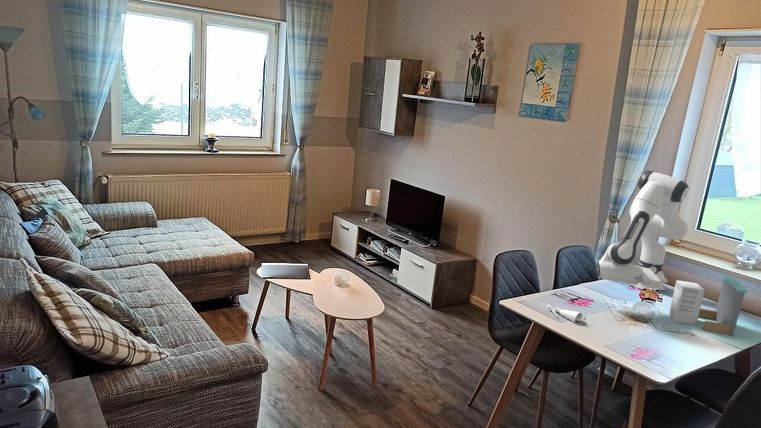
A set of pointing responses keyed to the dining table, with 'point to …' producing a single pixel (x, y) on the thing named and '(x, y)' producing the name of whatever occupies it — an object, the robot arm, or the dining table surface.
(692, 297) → the supplement box
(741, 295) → the display stand
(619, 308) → the dining table surface
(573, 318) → the woman figurine
